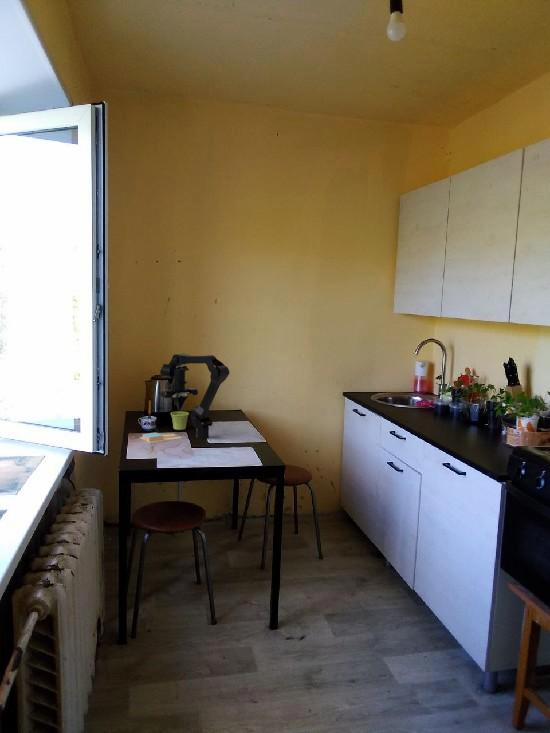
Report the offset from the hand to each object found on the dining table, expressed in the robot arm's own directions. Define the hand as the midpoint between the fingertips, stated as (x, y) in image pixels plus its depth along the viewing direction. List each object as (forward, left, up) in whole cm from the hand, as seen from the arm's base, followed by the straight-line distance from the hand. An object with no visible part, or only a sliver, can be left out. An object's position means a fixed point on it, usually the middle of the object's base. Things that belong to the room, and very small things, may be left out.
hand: (179, 409), depth 272 cm
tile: (-4, +13, -11) cm, 17 cm away
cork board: (-4, +12, -12) cm, 18 cm away
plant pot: (+8, -5, -13) cm, 16 cm away
